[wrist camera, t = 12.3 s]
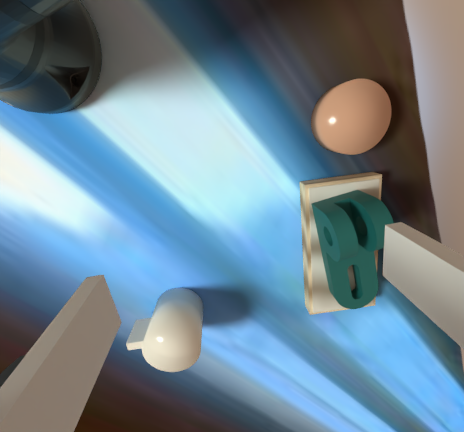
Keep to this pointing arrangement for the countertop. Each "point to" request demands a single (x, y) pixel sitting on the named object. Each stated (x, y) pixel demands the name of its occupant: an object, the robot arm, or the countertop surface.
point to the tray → (314, 270)
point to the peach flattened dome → (351, 117)
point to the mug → (171, 331)
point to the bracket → (351, 244)
